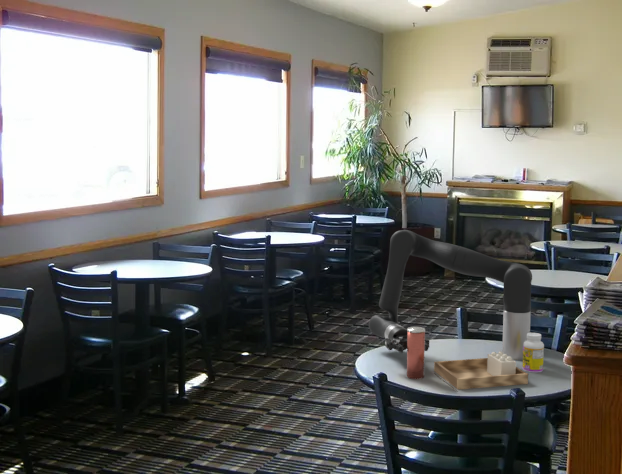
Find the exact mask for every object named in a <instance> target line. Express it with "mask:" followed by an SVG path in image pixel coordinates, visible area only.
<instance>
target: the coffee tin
mask: <svg viewBox="0 0 622 474" xmlns="http://www.w3.org/2000/svg"><path fill="white" fill-rule="evenodd" d="M406 329H407V349H406V378H408V379H411V380H422V379H424V378H425V351H424V350H425V338H426V328H425V327H421V326H410V327H407V328H406Z"/></svg>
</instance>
